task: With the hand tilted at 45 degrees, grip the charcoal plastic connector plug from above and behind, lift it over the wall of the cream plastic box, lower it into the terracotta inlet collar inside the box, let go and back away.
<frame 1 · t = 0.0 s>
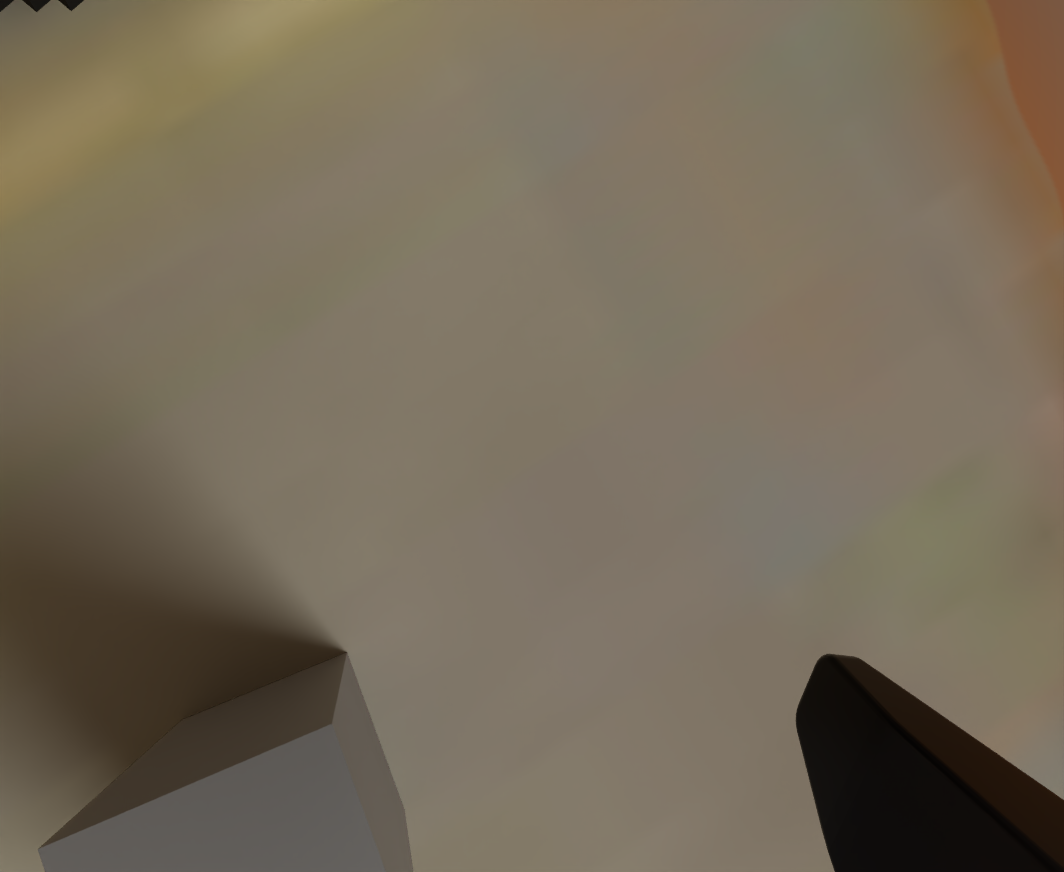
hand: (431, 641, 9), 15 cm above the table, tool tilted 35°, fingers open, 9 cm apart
plug: (294, 765, 23), on the table
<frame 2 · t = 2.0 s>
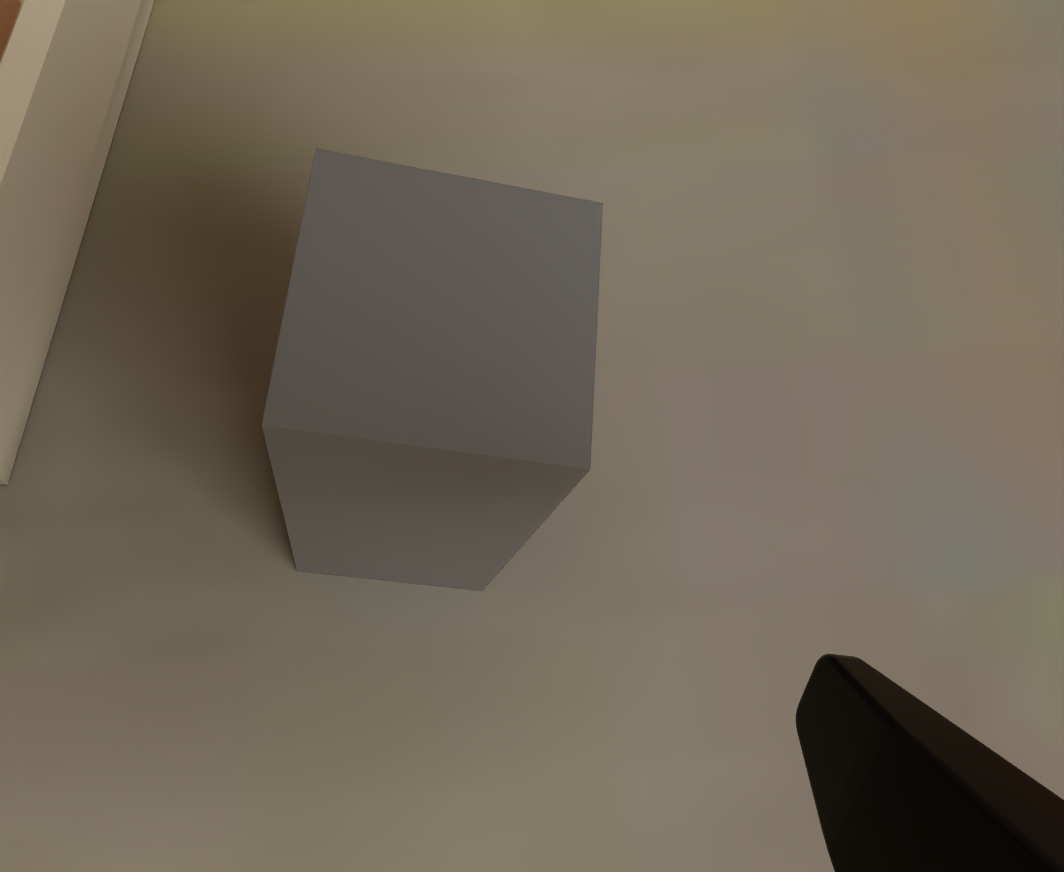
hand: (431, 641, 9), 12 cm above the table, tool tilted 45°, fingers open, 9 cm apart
plug: (402, 493, 22), on the table
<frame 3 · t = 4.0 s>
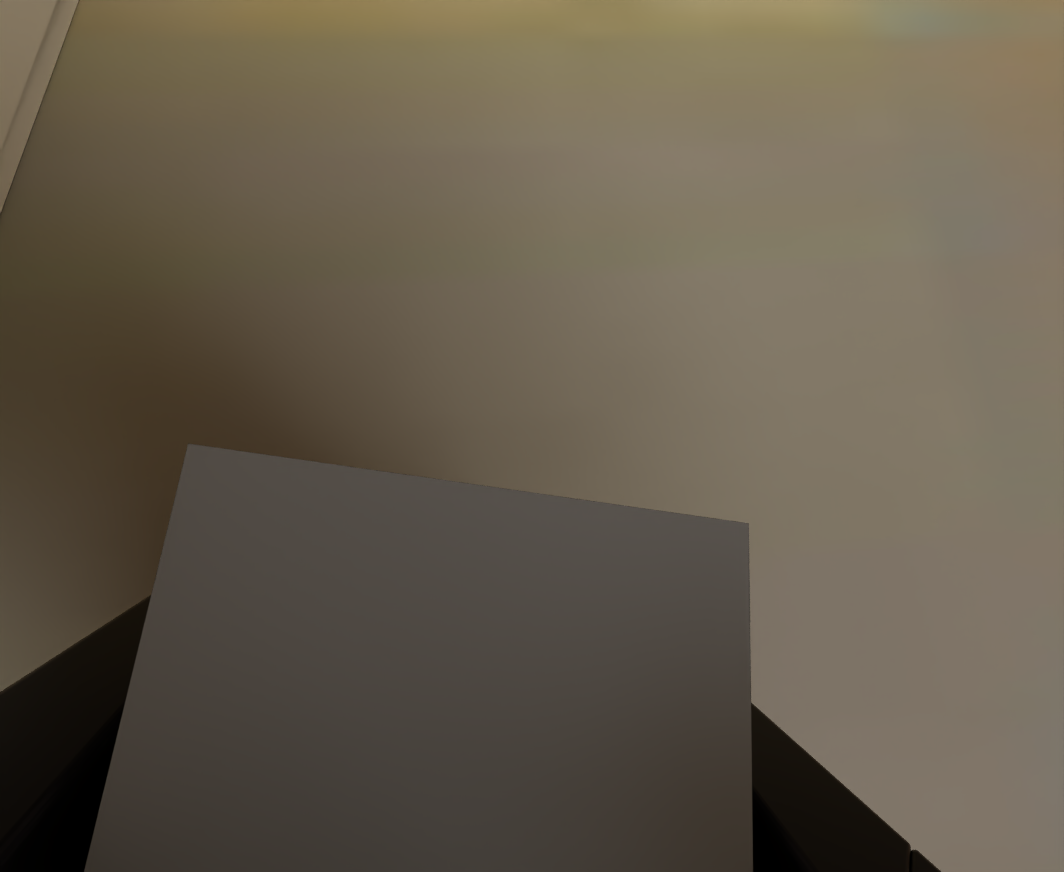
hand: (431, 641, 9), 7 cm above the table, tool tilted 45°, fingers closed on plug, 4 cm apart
plug: (381, 768, 15), on the table, touching gripper
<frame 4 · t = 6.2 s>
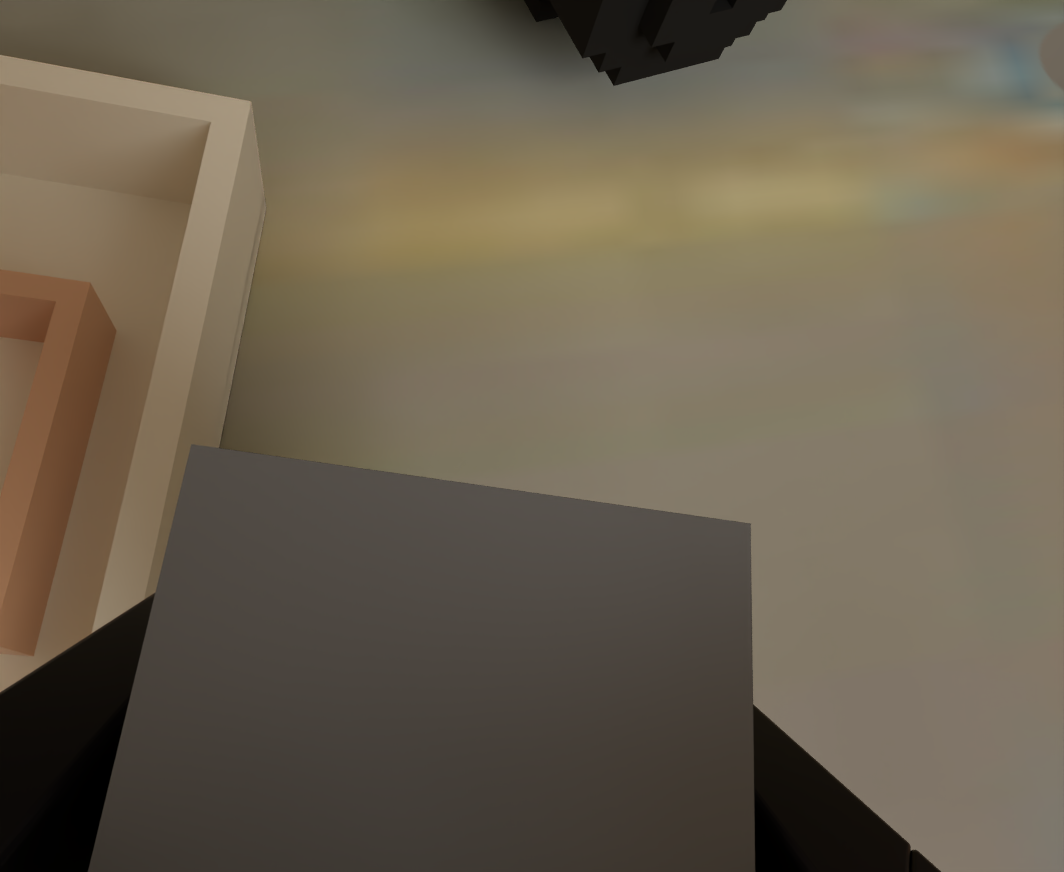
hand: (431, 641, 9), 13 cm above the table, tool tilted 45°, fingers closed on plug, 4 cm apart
plug: (383, 768, 15), point 6 cm above the table, touching gripper
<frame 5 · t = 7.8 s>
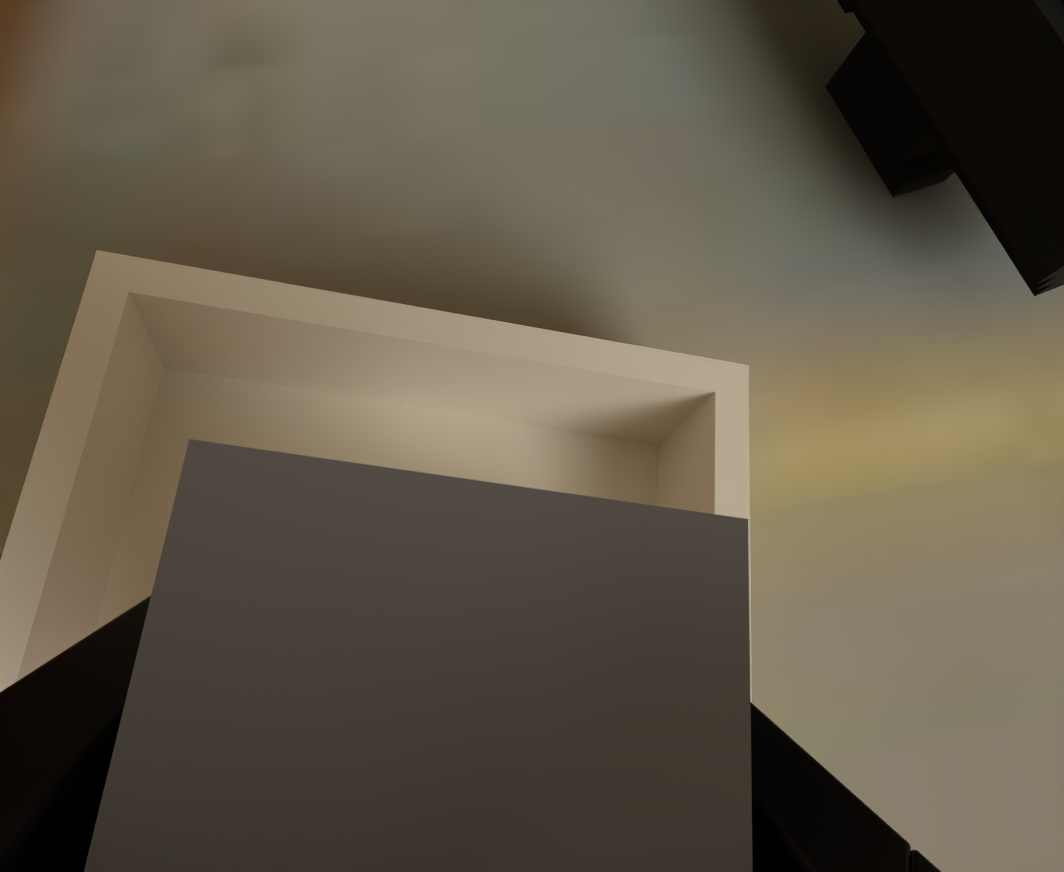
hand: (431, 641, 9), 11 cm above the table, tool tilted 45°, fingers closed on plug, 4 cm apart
security camera: (869, 119, 30), on the table
plug: (382, 767, 15), point 4 cm above the table, touching gripper
box: (372, 757, 19), on the table
when the fingers open (9 cm above the table, at t = 8.7 s): plug stays where it is, resting on box.
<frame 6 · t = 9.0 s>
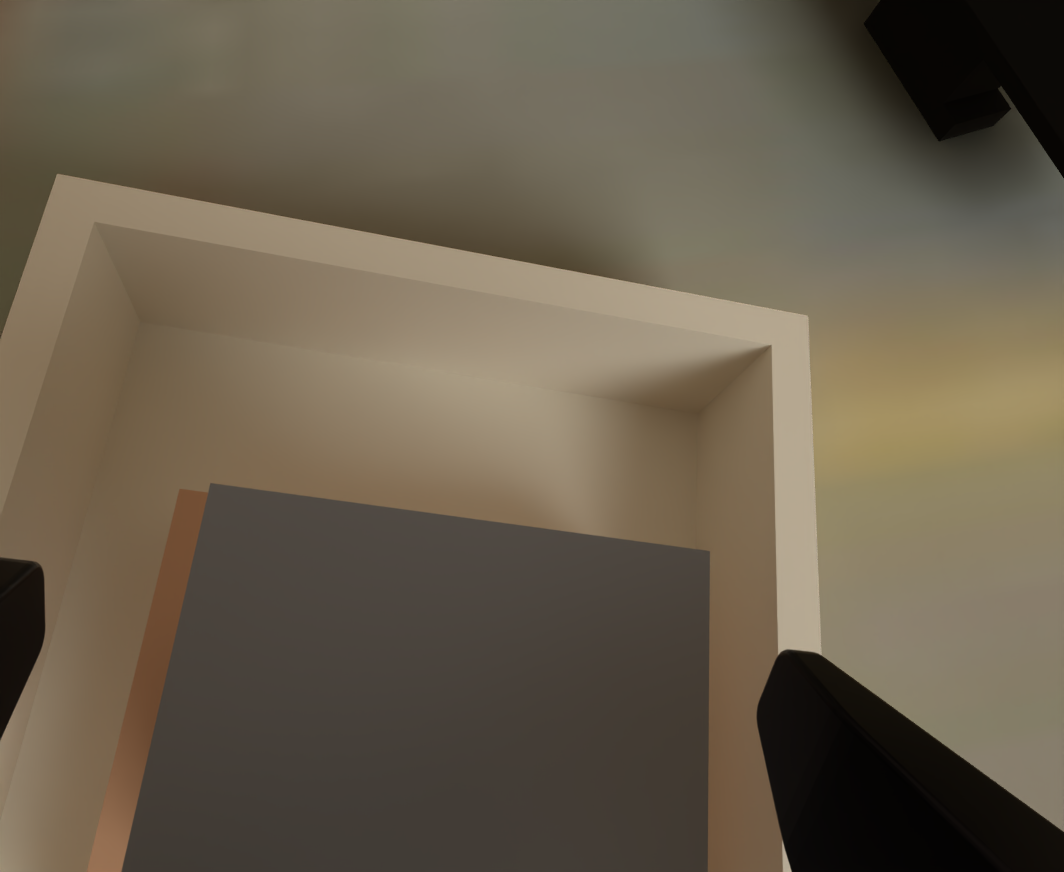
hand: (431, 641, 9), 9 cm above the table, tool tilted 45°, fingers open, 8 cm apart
security camera: (911, 59, 27), on the table
plug: (381, 767, 16), point 1 cm above the table, touching box
box: (378, 764, 17), on the table
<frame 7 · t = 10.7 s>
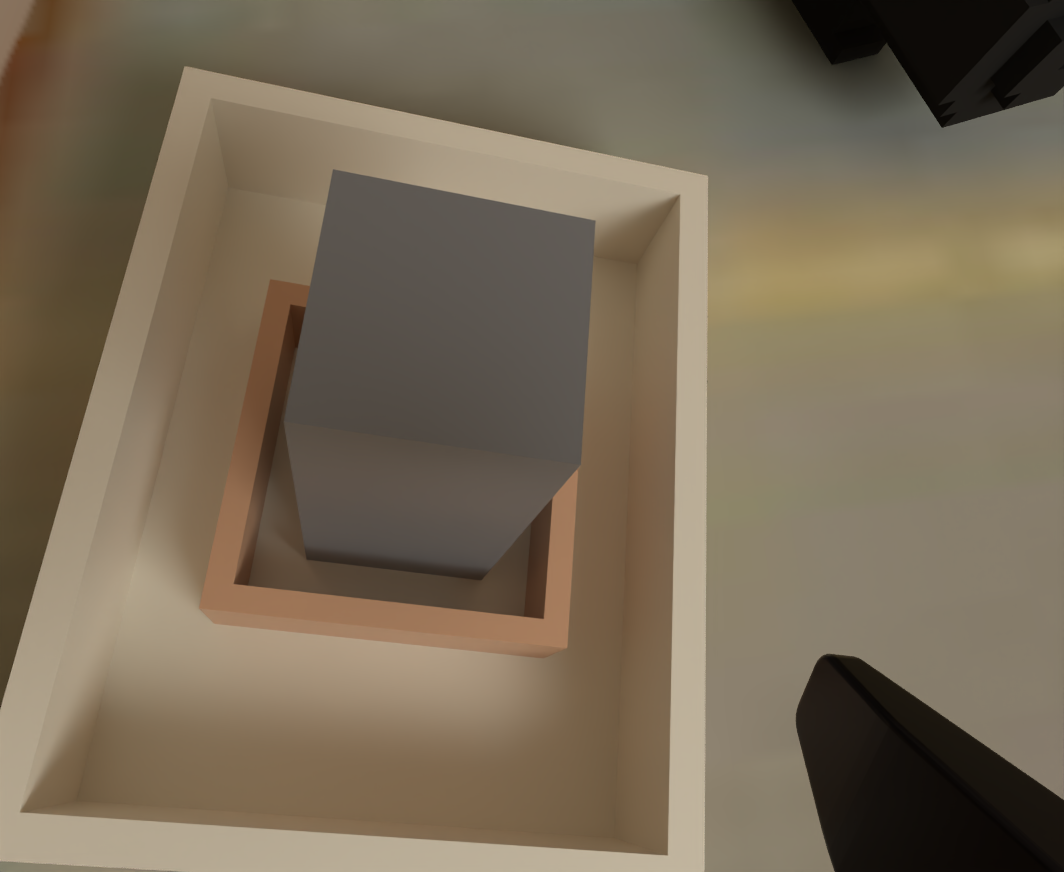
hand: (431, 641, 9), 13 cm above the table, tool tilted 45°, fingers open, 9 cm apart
security camera: (814, 2, 34), on the table
plug: (406, 487, 23), point 1 cm above the table, touching box
box: (403, 494, 24), on the table
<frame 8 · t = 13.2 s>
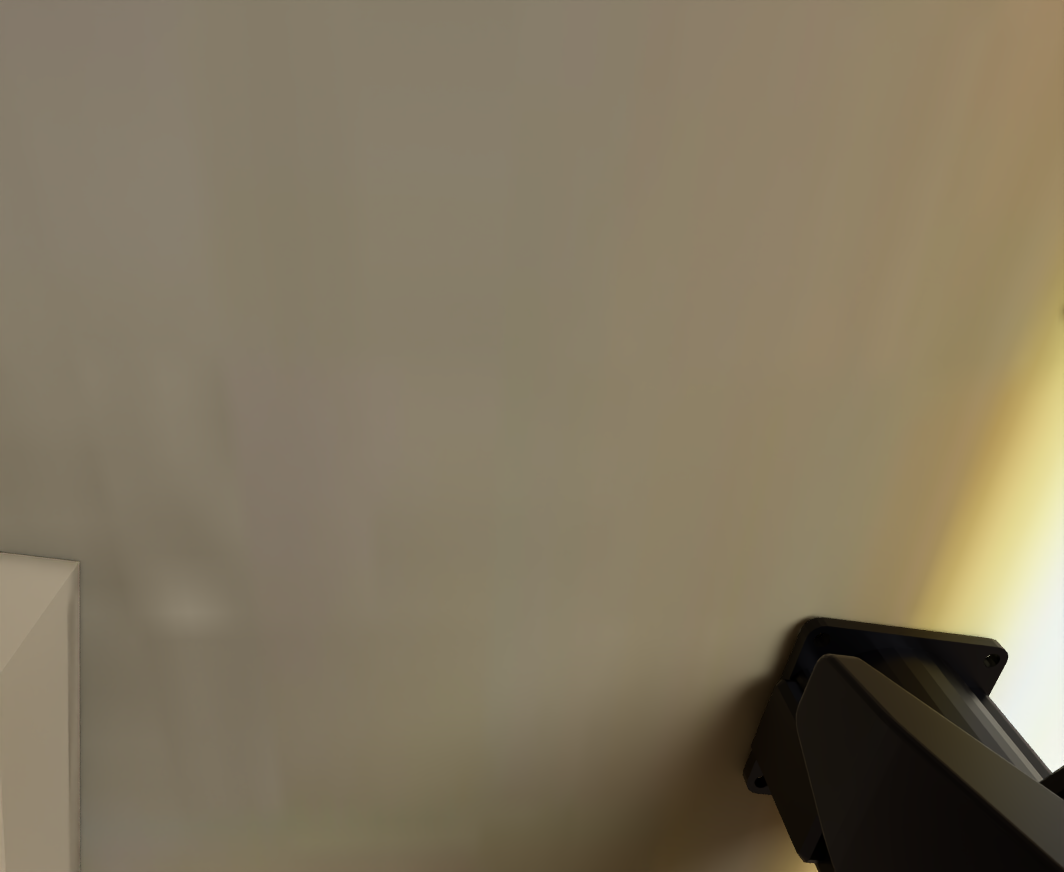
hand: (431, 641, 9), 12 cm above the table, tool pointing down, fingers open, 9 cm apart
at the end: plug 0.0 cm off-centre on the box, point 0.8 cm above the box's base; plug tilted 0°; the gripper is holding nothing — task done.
